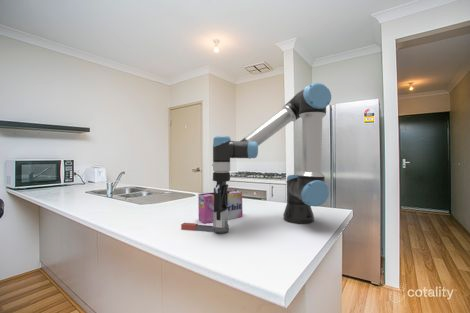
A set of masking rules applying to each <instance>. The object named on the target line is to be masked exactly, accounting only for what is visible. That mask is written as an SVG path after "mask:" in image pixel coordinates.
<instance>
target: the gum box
mask: <svg viewBox="0 0 470 313" xmlns="http://www.w3.org/2000/svg"><path fill="white" fill-rule="evenodd" d="M197 200H198V221H199V222H201V223H203V224H210V223H213V211H214V192H205V193H198V199H197ZM227 207H228V220H232V219H237V218H243V214H244V213H243V192H242V191H238V190H234V189H233V190H228V206H227ZM226 209H227V208H226Z"/></svg>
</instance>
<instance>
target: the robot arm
mask: <svg viewBox="0 0 470 313" xmlns="http://www.w3.org/2000/svg"><path fill="white" fill-rule="evenodd" d="M331 101H332V92H331V91H330V88H328V86H326V85H325V84H323V83H321V82H314V83H310V84H309V85H307V86H306V87H304V89H302V90H300V91H299V92H297V93H296V94H295V95H294V96H293V97H291V99H290V100H288V102H287V103H285V104H284V105H283V106H282V109H280V110H279V111H278V112H277V113H275V114H273V116H271V117H270V118H269V119H268V120H266V121H265V122H264V123H262V124H261V125H260V126H258V127H257V128H255V129H254V130H252V131H251V132H250V133H249V134H247V135H246V136H245V137H244V138H242V139H241V140H239V141H238V140H237V141H236V140H235V141H234V140H231V137H230V136H228V135H226V136H225V135H216V136H214V137H213V140H212V141H213V142H212V143H213V144H212V164H211V166H212V171H213V172H212V181H213V182H216V185H215V187H213V193H214V212H216V227H218V228H222V208H225V209H226V208H227V209H228V207H227V206H228V191H229V184H228V183H227V182H230V180H231V173H230V171H231V159H248V160H249V159H255V158H257V157H258V156H259V155H258V154H259V146H260V145H262V144H263V143H264V142H266V141H268V139H270V138H271V137H272V136H274V135H275V134H276V133H277V132H279V131H280V130H282V129H283V128H284V127H286V126H287V125H289V123H291V122H296V121H297V120H298V119H302V120H301V121H302V123H301V124H302V125H301V127H302V129H301V167H300V168H301V170H300V172H298V174H290V175H289V174H288V175H287V176H286V206H285V208H284V212H283V220H284V221H285V222H289V223H293V224H310V223H313V222H314V221H315V215H314V213H313V209H312V207H319V206H321V205H323V204H324V203H325V202H327V200H328V198H329V196H330V189H329V186H328V185H327V183H326V182H325V181H326V180H325V178H326V177H325V176H326V175H324V173H323V172H322V155H323V154H322V153H323V152H322V150H323V148H322V146H323V142H322V141H323V119H324V117H325V116H326V115H327V106H329V105H330V103H331Z"/></svg>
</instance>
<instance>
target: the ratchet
mask: <svg viewBox="0 0 470 313" xmlns="http://www.w3.org/2000/svg"><path fill="white" fill-rule="evenodd" d="M180 228H181V230H185V231H186V230H187V231H201V232H213V233H215V234H216V235H217V234H218V235H224V234H229V233H230V224H228V225H227V226H226V227H225V228H218V227H213V225H206V224H199V223H194V222H183V223H181V224H180Z"/></svg>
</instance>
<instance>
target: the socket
mask: <svg viewBox="0 0 470 313" xmlns="http://www.w3.org/2000/svg"><path fill="white" fill-rule="evenodd" d="M212 223H213V225H212V226H213V227H216V212H214V211H213V222H212ZM227 225H229V219H228V209H225V208H222V228H225V227H226V226H227Z"/></svg>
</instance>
